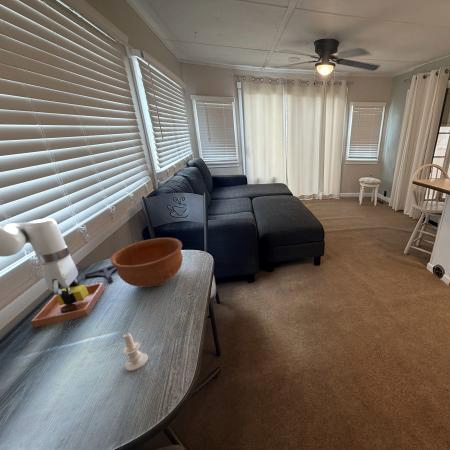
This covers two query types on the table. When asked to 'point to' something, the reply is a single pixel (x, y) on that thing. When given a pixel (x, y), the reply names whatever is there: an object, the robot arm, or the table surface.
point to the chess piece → (133, 354)
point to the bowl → (148, 261)
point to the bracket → (105, 272)
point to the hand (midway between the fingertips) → (74, 298)
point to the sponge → (75, 293)
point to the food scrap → (68, 308)
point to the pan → (54, 314)
